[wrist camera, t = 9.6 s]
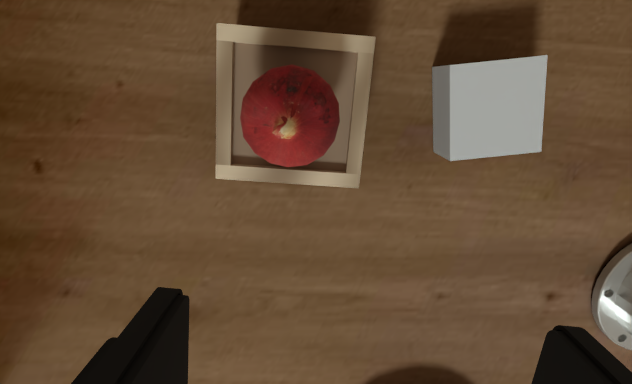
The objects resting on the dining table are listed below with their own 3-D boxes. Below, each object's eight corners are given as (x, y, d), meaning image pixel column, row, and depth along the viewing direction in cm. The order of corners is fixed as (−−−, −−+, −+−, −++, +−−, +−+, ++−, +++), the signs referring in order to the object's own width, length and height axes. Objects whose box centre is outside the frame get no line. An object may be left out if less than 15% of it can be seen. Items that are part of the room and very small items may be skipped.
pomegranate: (259, 56, 25) (239, 48, 18) (344, 79, 26) (361, 80, 18) (242, 142, 27) (217, 169, 19) (323, 162, 27) (329, 196, 20)
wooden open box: (361, 45, 31) (375, 36, 25) (348, 167, 34) (358, 188, 27) (235, 34, 31) (216, 23, 24) (232, 159, 33) (215, 178, 27)
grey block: (518, 58, 32) (547, 55, 28) (514, 143, 34) (541, 151, 30) (432, 66, 32) (449, 65, 28) (433, 151, 34) (450, 160, 30)
